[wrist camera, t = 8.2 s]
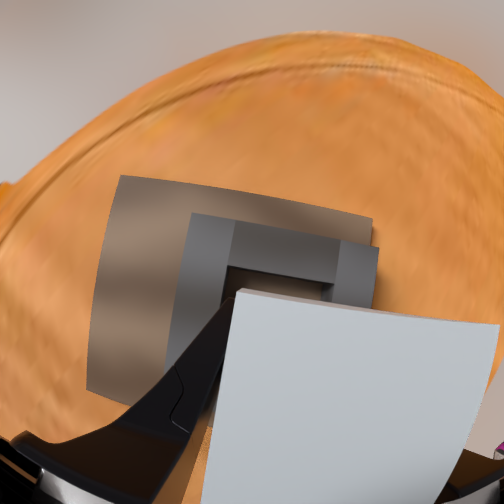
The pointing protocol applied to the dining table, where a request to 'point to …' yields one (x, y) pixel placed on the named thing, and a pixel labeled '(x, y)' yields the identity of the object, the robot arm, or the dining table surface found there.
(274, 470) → the white block
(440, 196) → the dining table surface
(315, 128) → the dining table surface
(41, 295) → the dining table surface
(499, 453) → the candy bar box
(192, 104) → the dining table surface
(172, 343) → the grey square socket base
